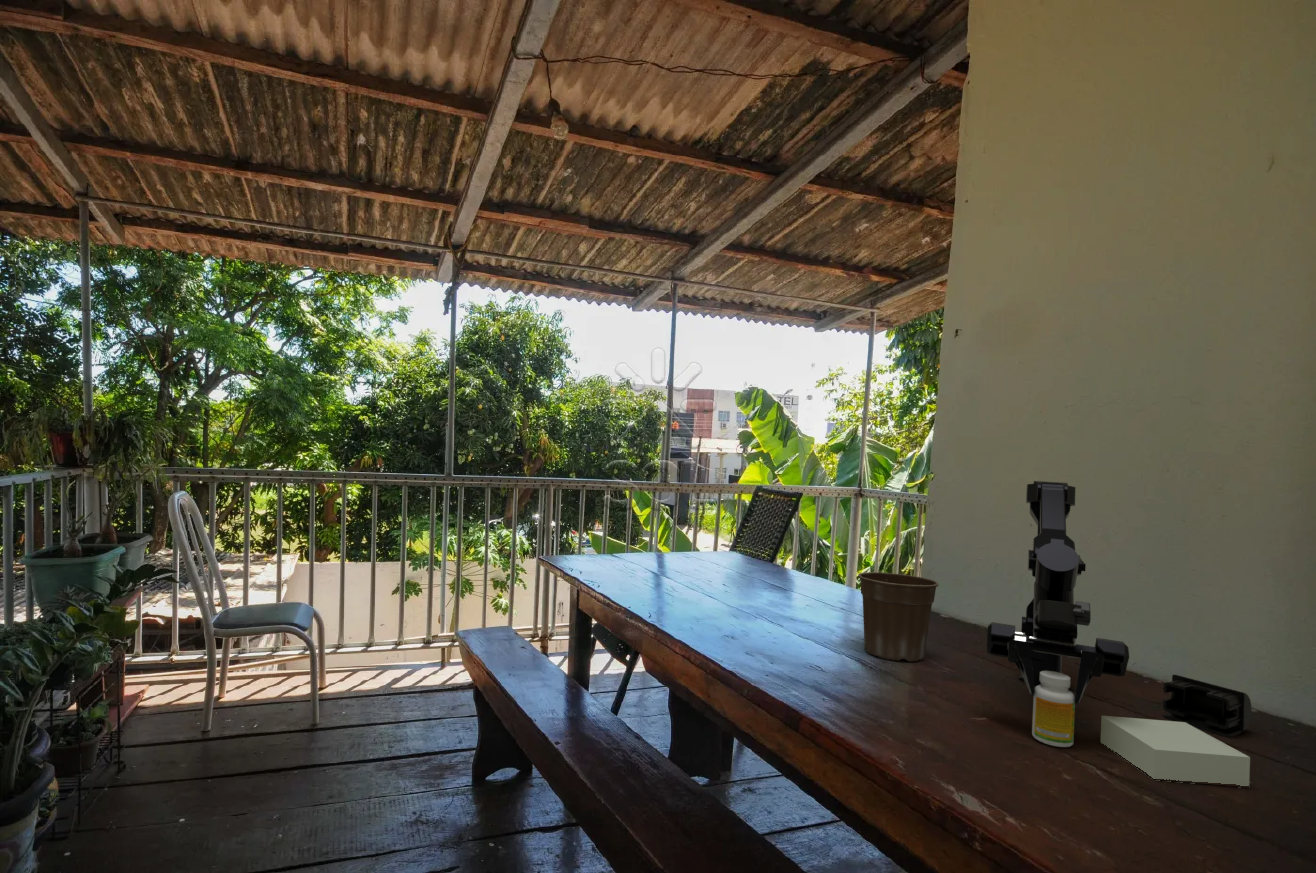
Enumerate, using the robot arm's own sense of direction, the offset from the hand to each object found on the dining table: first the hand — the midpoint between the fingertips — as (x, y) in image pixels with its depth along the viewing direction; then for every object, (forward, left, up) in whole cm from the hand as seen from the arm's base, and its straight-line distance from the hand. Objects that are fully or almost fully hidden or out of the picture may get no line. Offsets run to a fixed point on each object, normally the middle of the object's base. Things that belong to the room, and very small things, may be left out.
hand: (1054, 698), depth 100 cm
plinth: (-9, +11, -7) cm, 16 cm away
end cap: (-34, +7, -7) cm, 36 cm away
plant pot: (-18, -42, -7) cm, 46 cm away
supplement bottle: (-1, -1, -7) cm, 7 cm away
